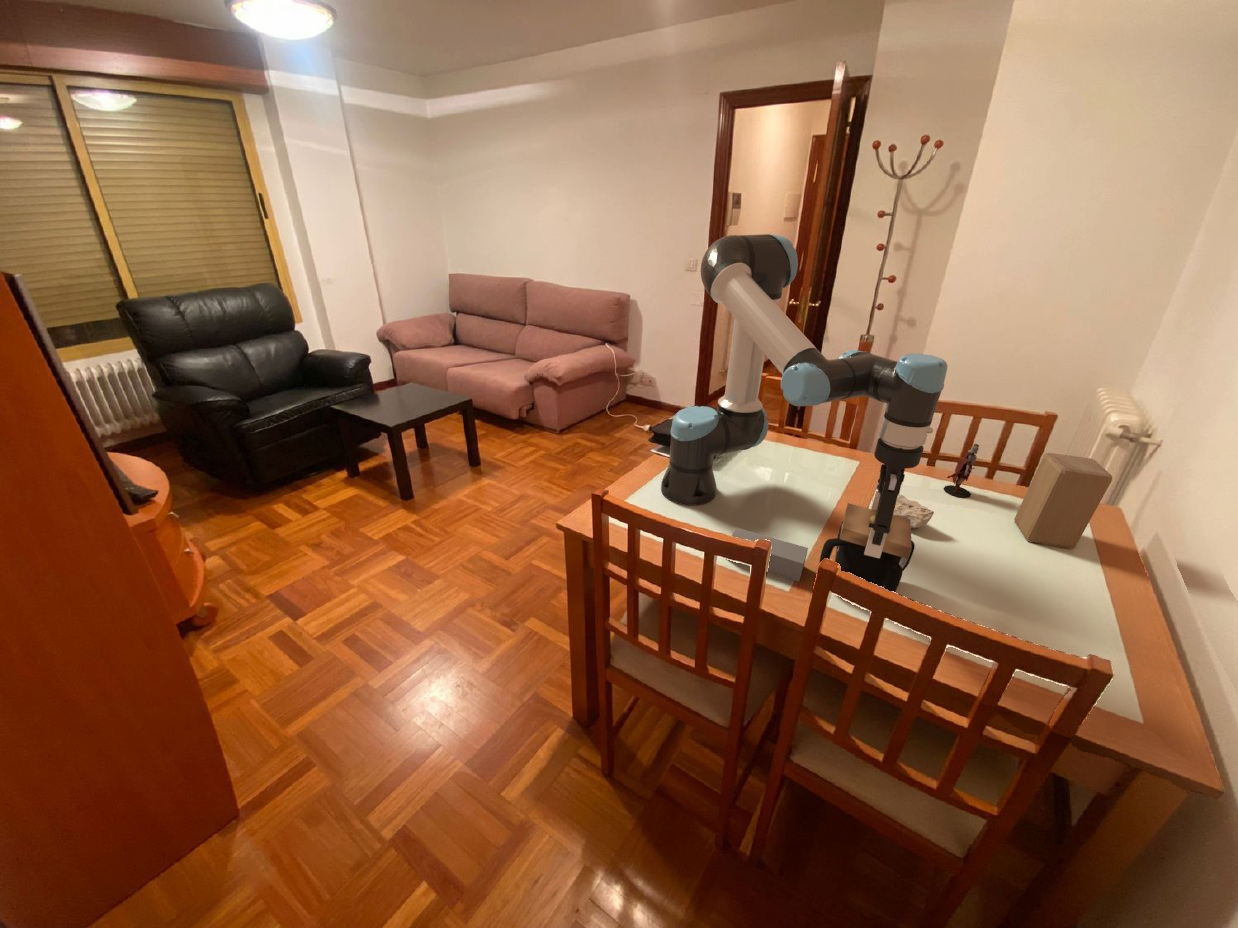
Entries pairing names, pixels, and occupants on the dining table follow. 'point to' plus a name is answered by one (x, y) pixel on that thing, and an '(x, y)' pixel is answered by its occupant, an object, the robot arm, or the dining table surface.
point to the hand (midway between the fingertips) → (873, 537)
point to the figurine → (962, 474)
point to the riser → (780, 555)
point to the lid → (859, 530)
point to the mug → (867, 562)
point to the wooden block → (1062, 499)
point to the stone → (912, 511)
